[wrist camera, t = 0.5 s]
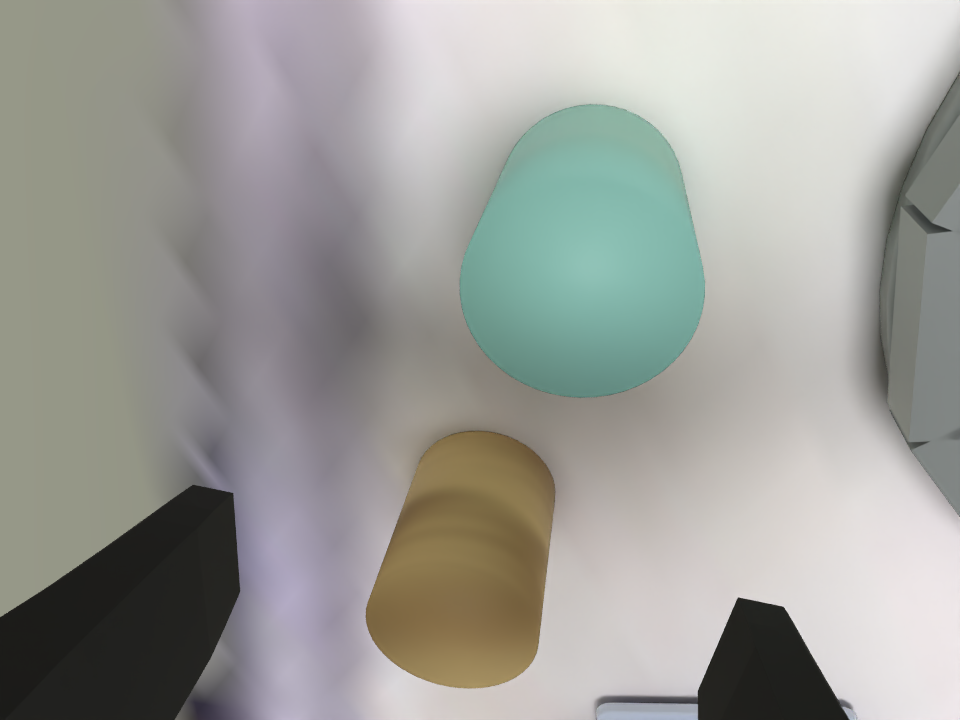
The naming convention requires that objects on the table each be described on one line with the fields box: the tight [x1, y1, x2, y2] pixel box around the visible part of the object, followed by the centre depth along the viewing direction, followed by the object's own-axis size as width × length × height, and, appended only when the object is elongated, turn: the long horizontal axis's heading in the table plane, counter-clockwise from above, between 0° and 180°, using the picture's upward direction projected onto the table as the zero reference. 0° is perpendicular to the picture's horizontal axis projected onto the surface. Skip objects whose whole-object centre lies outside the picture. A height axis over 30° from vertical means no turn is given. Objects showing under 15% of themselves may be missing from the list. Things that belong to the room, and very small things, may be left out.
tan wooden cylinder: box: [366, 431, 555, 688], centre depth 19 cm, size 4×4×5 cm
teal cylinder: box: [460, 104, 705, 398], centre depth 15 cm, size 4×4×5 cm
